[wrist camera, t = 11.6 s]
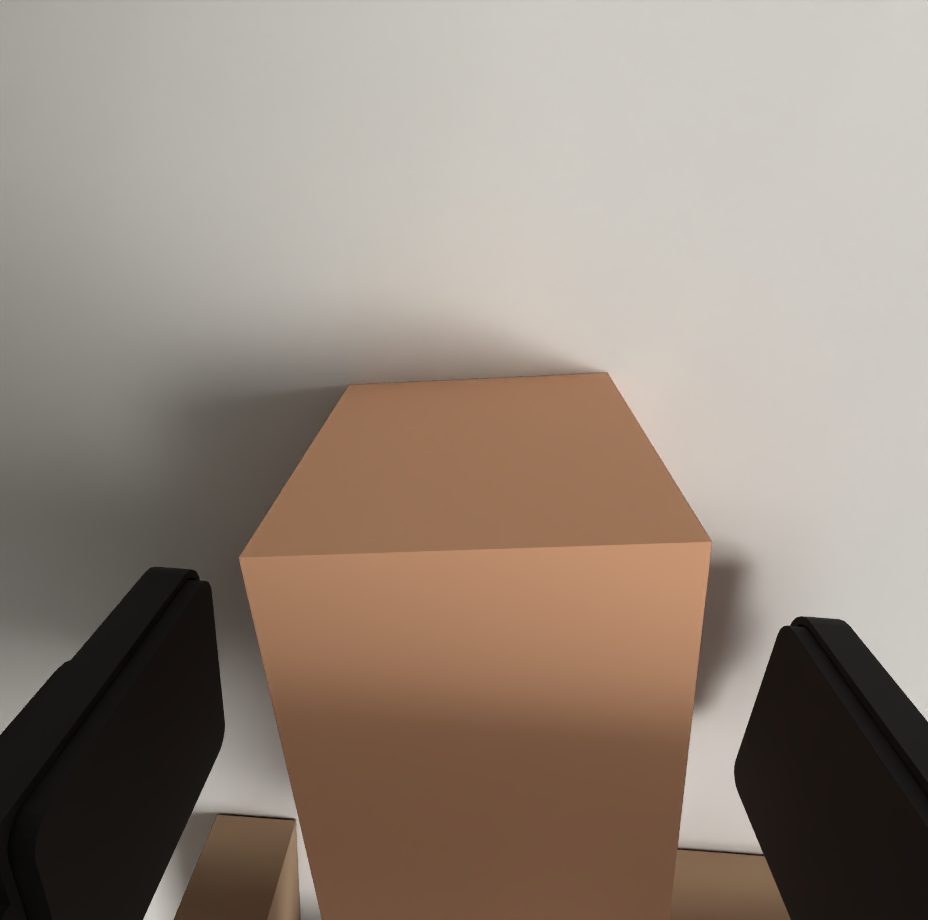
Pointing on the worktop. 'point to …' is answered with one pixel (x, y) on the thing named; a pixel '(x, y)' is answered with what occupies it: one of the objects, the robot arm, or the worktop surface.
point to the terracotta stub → (483, 651)
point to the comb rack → (277, 884)
